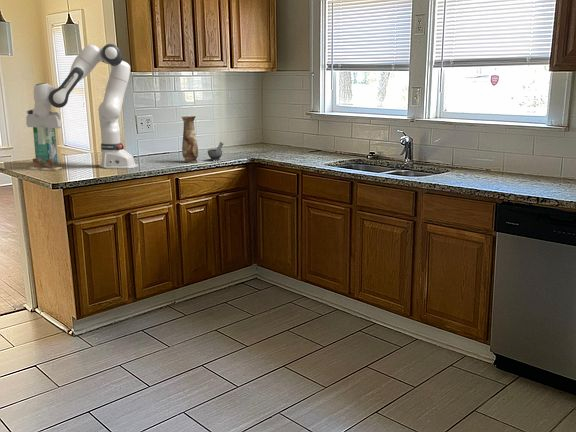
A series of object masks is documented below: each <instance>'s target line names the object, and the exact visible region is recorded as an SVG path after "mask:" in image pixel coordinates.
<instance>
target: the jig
mask: <svg viewBox="0 0 576 432" xmlns="http://www.w3.org/2000/svg"><path fill="white" fill-rule="evenodd" d="M59 169H60V170H62V169H63V166H56V164H55V159H46V163H42V158H36V157H35V158H32V165H31V166H27V167H26V170H33V171H35V170H36V171H53V170H56V171H59Z"/></svg>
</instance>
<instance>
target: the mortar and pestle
mask: <svg viewBox="0 0 576 432" xmlns="http://www.w3.org/2000/svg"><path fill="white" fill-rule="evenodd" d="M223 145H224V143H223V142H221V141H220V142H219V144H218V146H217V147H216V148H215V149H214V148H213V149H207V155H208V157H209V158H210V159H211V160H220V161H221V159H220V158H221V157H222V155H223V149H222V148H223ZM211 160H210V161H211Z"/></svg>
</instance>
